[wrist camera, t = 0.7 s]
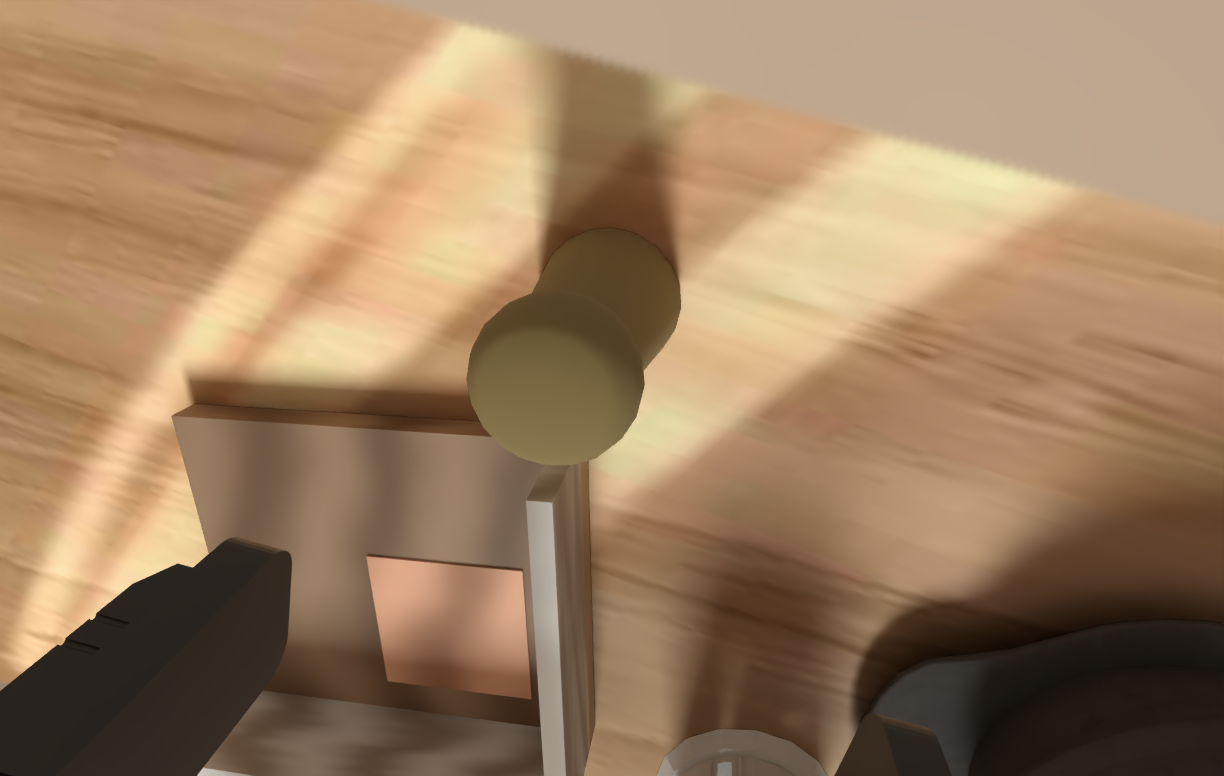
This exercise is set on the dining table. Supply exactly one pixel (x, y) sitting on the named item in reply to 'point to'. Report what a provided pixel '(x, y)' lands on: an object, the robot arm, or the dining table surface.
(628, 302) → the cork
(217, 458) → the board
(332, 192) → the dining table surface
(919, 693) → the casserole
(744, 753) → the french press
